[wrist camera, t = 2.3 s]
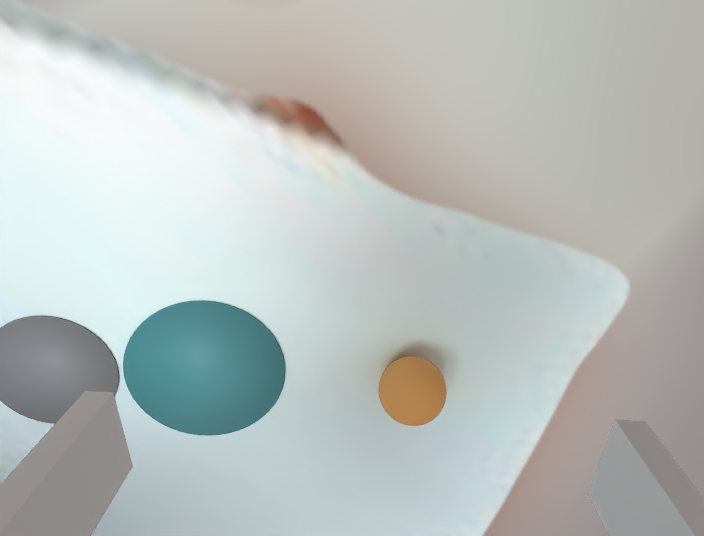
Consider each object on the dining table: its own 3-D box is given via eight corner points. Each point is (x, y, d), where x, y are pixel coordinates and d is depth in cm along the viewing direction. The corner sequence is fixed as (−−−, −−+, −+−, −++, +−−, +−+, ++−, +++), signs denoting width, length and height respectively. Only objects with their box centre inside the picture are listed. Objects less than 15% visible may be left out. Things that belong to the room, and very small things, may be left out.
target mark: (284, 432, 39) (284, 434, 39) (133, 435, 38) (132, 436, 37) (285, 302, 35) (285, 303, 34) (114, 299, 33) (113, 300, 33)
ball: (431, 396, 39) (450, 440, 34) (371, 397, 39) (381, 441, 34) (439, 344, 37) (460, 381, 32) (376, 343, 37) (388, 382, 32)
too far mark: (125, 421, 37) (124, 422, 37) (-2, 423, 36) (-3, 424, 36) (110, 316, 34) (109, 317, 33) (-31, 315, 32) (-33, 316, 32)
